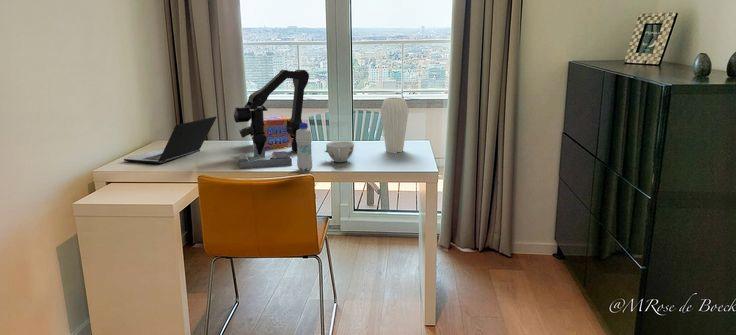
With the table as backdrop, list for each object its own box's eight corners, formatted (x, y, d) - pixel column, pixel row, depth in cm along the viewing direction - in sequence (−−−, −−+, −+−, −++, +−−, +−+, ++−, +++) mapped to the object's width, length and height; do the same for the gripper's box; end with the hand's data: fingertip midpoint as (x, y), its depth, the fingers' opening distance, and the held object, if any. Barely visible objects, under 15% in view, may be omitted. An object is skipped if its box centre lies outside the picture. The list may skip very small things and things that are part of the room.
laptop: (167, 150, 275) (163, 114, 271) (220, 153, 265) (217, 116, 261) (122, 161, 248) (118, 121, 244) (180, 166, 237) (176, 124, 233)
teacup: (327, 158, 250) (327, 141, 248) (354, 158, 249) (354, 141, 248) (324, 165, 235) (324, 147, 233) (353, 164, 235) (352, 146, 233)
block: (264, 155, 256) (263, 141, 255) (265, 157, 252) (264, 142, 251) (253, 156, 255) (252, 141, 254) (254, 158, 251) (253, 143, 249)
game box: (253, 146, 280) (252, 117, 277) (282, 144, 288) (280, 115, 285) (263, 151, 267) (262, 120, 264) (293, 148, 275) (291, 118, 271)
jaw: (285, 159, 247) (285, 151, 246) (289, 164, 236) (288, 155, 236) (272, 160, 245) (272, 151, 244) (275, 165, 235) (274, 156, 234)
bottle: (307, 167, 231) (305, 121, 226) (316, 169, 225) (314, 122, 221) (293, 169, 227) (292, 122, 222) (302, 172, 221) (300, 124, 217)
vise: (289, 158, 248) (289, 150, 247) (294, 165, 235) (293, 156, 234) (238, 162, 242) (238, 153, 241) (240, 168, 229) (239, 159, 228)
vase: (399, 149, 270) (400, 96, 264) (413, 153, 258) (413, 98, 253) (376, 151, 264) (375, 97, 259) (388, 156, 253) (388, 100, 247)
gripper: (238, 119, 256) (240, 151, 260) (240, 124, 239) (242, 158, 242) (262, 118, 259) (263, 149, 263) (266, 123, 242) (267, 157, 245)
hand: (259, 153), depth 253 cm, fingers closed on block, 4 cm apart
